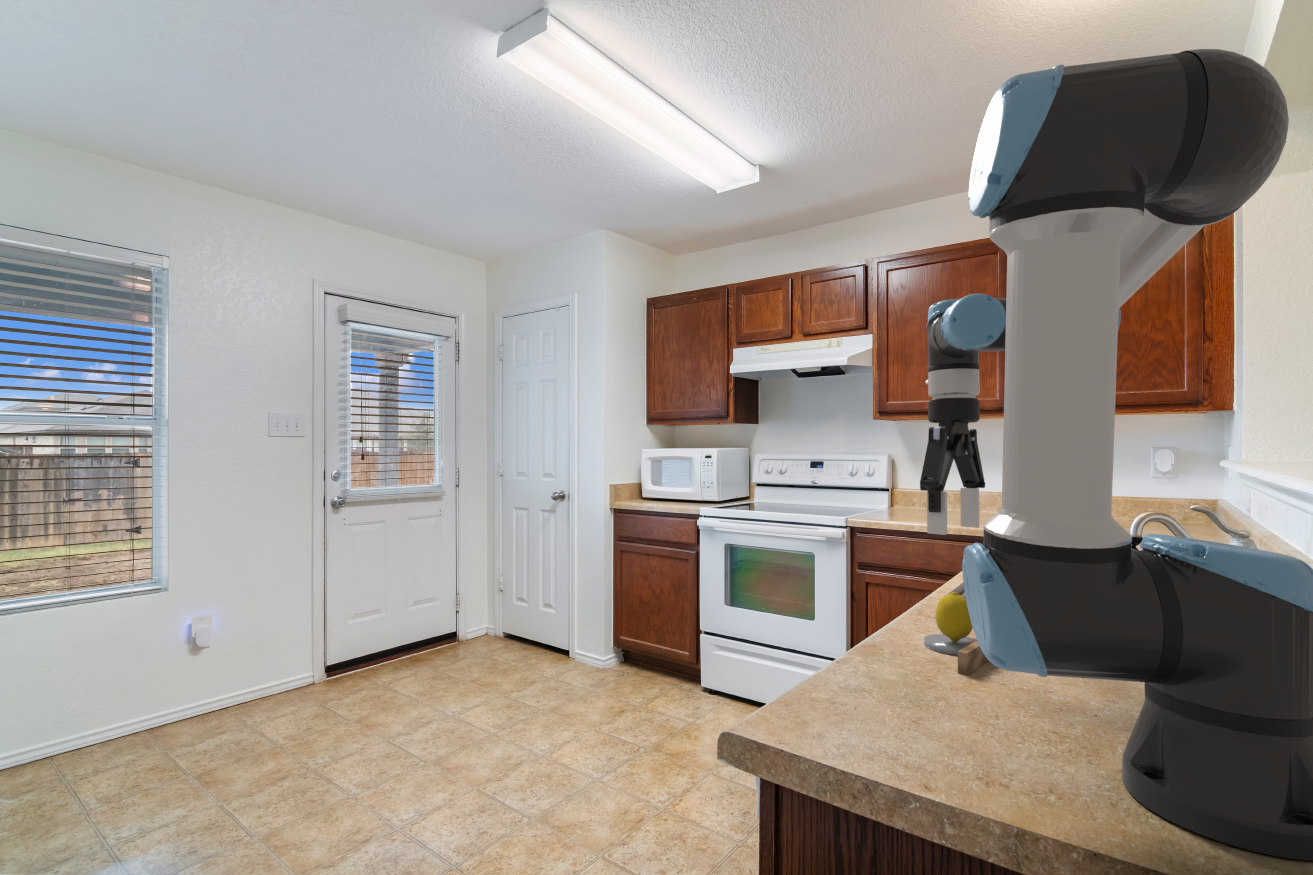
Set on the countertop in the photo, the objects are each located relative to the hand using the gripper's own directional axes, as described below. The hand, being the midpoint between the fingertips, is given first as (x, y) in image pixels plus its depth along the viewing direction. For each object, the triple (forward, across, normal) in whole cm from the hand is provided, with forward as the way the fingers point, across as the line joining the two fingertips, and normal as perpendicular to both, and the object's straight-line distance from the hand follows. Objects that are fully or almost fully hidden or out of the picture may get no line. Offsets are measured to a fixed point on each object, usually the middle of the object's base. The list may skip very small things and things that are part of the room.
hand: (954, 530), depth 102 cm
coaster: (+19, 0, 0) cm, 19 cm away
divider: (+19, +3, +5) cm, 20 cm away
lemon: (+18, 0, 0) cm, 18 cm away
